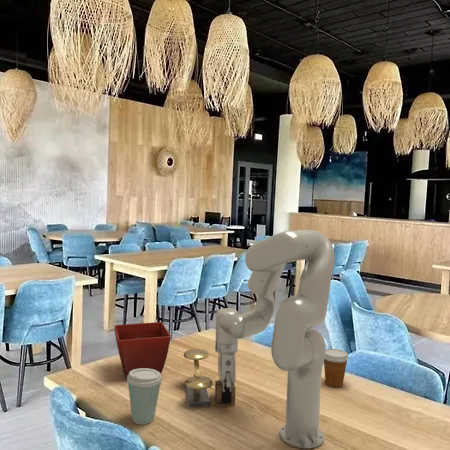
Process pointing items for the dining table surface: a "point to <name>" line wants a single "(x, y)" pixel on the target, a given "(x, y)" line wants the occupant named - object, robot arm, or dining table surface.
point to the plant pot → (142, 346)
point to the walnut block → (219, 393)
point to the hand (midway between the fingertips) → (224, 398)
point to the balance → (197, 380)
